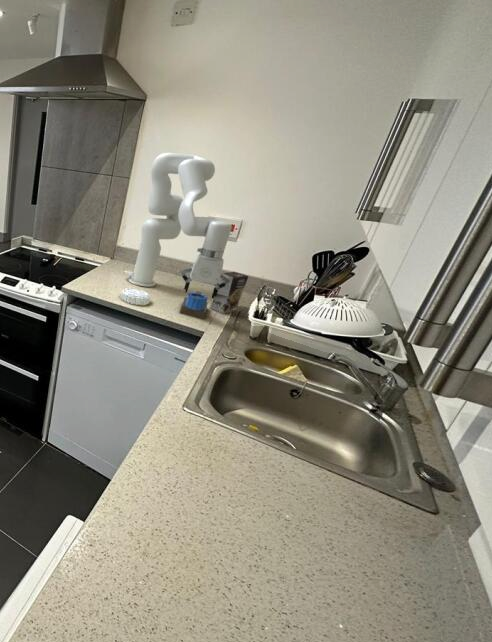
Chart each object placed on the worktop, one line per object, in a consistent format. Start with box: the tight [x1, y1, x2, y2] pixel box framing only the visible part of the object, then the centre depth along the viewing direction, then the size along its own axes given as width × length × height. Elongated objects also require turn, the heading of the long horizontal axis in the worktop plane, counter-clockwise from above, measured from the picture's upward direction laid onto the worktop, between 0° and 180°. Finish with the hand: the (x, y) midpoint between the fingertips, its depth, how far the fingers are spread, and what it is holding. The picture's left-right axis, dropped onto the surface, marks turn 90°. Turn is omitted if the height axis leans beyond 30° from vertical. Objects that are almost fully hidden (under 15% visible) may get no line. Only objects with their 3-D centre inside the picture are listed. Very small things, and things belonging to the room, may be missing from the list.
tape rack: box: [179, 290, 209, 320], centre depth 163 cm, size 9×13×8 cm
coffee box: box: [209, 271, 249, 314], centre depth 165 cm, size 9×6×16 cm
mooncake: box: [120, 287, 151, 306], centre depth 170 cm, size 12×12×4 cm
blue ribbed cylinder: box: [185, 291, 209, 311], centre depth 160 cm, size 7×7×5 cm
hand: (199, 294), depth 158 cm, fingers open, 9 cm apart
